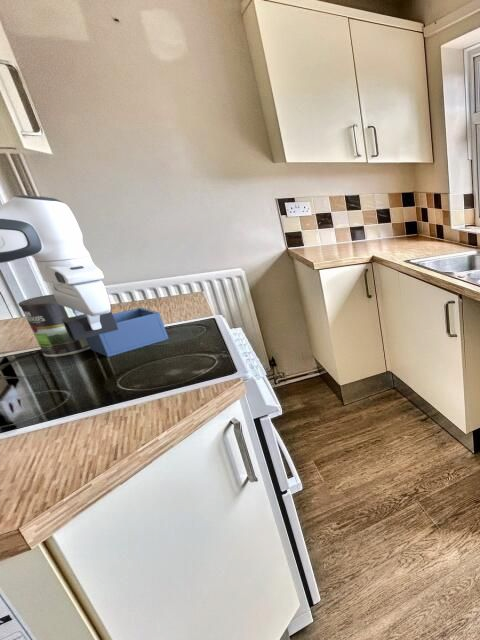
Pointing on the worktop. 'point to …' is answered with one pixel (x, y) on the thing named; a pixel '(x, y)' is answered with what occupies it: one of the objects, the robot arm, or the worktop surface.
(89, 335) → the dark gray block
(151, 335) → the blue box
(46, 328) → the coffee can
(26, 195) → the robot arm
